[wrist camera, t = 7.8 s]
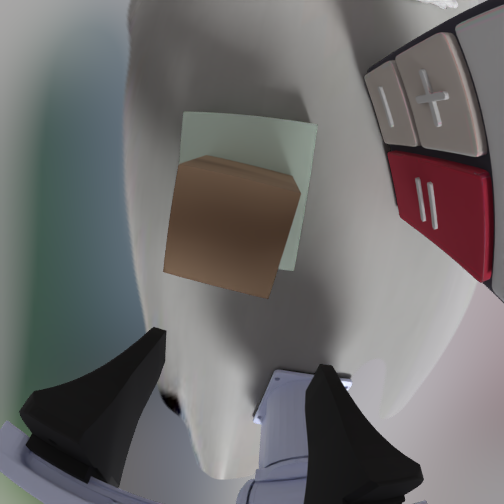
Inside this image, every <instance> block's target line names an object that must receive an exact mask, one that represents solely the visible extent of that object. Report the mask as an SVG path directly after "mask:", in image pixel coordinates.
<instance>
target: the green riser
mask: <svg viewBox="0 0 504 504" xmlns="http://www.w3.org/2000/svg"><path fill="white" fill-rule="evenodd" d="M317 126H318V125H317V124H311V123H305V122H299V121H293V120H286V119H278V118H270V117H262V116H252V115H242V114H229V113H213V112H183V121H182V132H181V143H180V156H179V164H181V163H184V162H187V161H190V160H193V159H196V158H199V157H202V156H205V155H209V156H214V157H218V158H223V159H227V160H232V161H236V162H240V163H244V164H249V165H253V166H257V167H261V168H265V169H269V170H272V171H276V172H280V173H284V174H287V175H291V176H293V178H294V180H295V182H296V184H297V186H298V188H299V190H300V192H301V196H300V200H299V203H298V206H297V210H296V213H295V216H294V219H293V223H292V226H291V229H290V232H289V236H288V239H287V242H286V245H285V249H284V252H283V255H282V258H281V261H280V264H279V268H278V269H281V270H289V271H294V267H295V262H296V257H297V251H298V246H299V241H300V235H301V230H302V224H303V218H304V212H305V206H306V200H307V194H308V188H309V182H310V175H311V169H312V162H313V155H314V148H315V141H316V134H317Z"/></svg>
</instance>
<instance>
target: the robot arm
mask: <svg viewBox="0 0 504 504" xmlns="http://www.w3.org/2000/svg"><path fill="white" fill-rule="evenodd" d="M165 350H166V331H165V330H162V329H159V328H155V327H153V328H151V329H150V330H149V331H148V332H147V333H146V334H145V335H144V336H142V337H141V338H140V339H139V340H138V341H137V342H135V343H134V344H133V345H132V346H130V347H129V348H128V349H127V350H125V351H124V352H123V353H121V354H120V355H118V356H117V357H116V358H114V359H112V360H111V361H110V362H108V363H107V364H105V365H103V366H101V367H100V368H98V369H96V370H95V371H93V372H91V373H88V374H86V375H84V376H82V377H80V378H78V379H75V380H73V381H70V382H67V383H65V384H61V385H59V386H55V387H51V388H47V389H43V390H38V391H34V392H33V393H32V394H31V395H30V397H29V398H28V399H27V401H26V402H25V404H24V405H23V407H22V408H21V410H20V411H19V412H20V416H21V418H22V420H23V421H24V422H25V424H26V425H27V427H28V428H29V429H30V431H31V432H32V435H31V437H30V438H29V437H28V436H27V435H26V434H25V433H24V432H22V431H21V430H20V429H18V428H17V427H15V426H14V425H13V424H11V423H10V422H9V421H6V422H5V423H4V425H3V426H2V428H1V429H0V471H1V472H2V473H3V474H4V475H5V476H7V477H8V478H9V479H11V480H12V481H13V482H14V483H16V484H17V485H18V486H20V487H21V488H22V489H24V490H25V491H27V492H28V493H29V494H31V495H32V496H34V497H35V498H37V499H38V500H40V501H41V502H43V503H44V504H163V503H160V502H156V501H153V500H150V499H146V498H144V497H141V496H138V495H135V494H132V493H129V492H127V491H124V490H122V489H119V488H118V487H119V485H120V481H121V477H122V473H123V469H124V465H125V461H126V457H127V454H128V451H129V447H130V444H131V441H132V438H133V435H134V432H135V429H136V426H137V423H138V420H139V418H140V416H141V413H142V411H143V409H144V407H145V405H146V403H147V401H148V399H149V397H150V395H151V393H152V391H153V389H154V387H155V385H156V383H157V381H158V379H159V377H160V374H161V371H162V368H163V366H164V363H165ZM276 377H278V378H276ZM351 385H352V380H351V379H345V378H339V376H338V375H337V373H336V371H335V370H334V368H333V366H331V365H323V364H320V365H319V367H318V369H317V371H316V373H315V375H312V374H305V373H298V372H291V371H285V370H275V371H274V372H273V375H272V377H271V380H270V382H269V384H268V387H267V389H266V391H265V394H264V396H263V398H262V401H261V403H260V405H259V407H258V410H257V412H256V414H255V416H254V418H253V422H254V423H256V424H262V425H261V439H260V452H259V469H256V475H255V479H251V480H248V481H247V482H246V483H245V485H244V486H243V487H242V488H241V490H240V492H239V494H238V497H237V501H236V504H402V502H404V501H405V497H404V495H405V494H407V493H408V492H410V491H412V490H413V489H415V488H416V487H418V486H419V485H420V484H421V483H422V482H423V480H424V478H423V475H422V471H421V467H420V464H418V463H416V462H415V461H413V460H412V459H410V458H408V457H407V456H405V455H404V454H403V453H401V452H400V451H399V450H397V449H396V448H395V447H393V446H392V445H391V444H390V443H389V442H388V441H387V440H386V439H385V438H384V437H382V435H380V433H379V432H378V431H377V430H376V429H375V428H374V427H373V426H372V425H371V424H370V422H369V421H368V420H367V419H366V418H365V416H364V415H363V414H362V412H361V411H360V409H359V408H358V407H357V405H356V404H355V402H354V401H353V399H352V398H351V396H350V395H349V393H348V392H347V391H348V390H349V388H350V387H351ZM414 504H427V501H421V502H418V503H414Z"/></svg>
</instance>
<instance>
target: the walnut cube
mask: <svg viewBox="0 0 504 504" xmlns="http://www.w3.org/2000/svg"><path fill="white" fill-rule="evenodd" d="M300 196H301V192H300V190H299V188H298V186H297V184H296V182H295V180H294V178H293V176H291V175H287V174H284V173H280V172H276V171H272V170H269V169H265V168H261V167H257V166H253V165H249V164H244V163H240V162H236V161H232V160H227V159H223V158H218V157H214V156H209V155H205V156H202V157H199V158H196V159H193V160H190V161H187V162H184V163H181V164H179V166H178V171H177V176H176V182H175V188H174V194H173V200H172V207H171V213H170V220H169V227H168V235H167V243H166V251H165V260H164V269H163V272H165V273H169V274H172V275H176V276H179V277H183V278H187V279H190V280H194V281H198V282H202V283H206V284H209V285H213V286H217V287H221V288H225V289H229V290H233V291H237V292H241V293H245V294H249V295H253V296H257V297H261V298H266V299H268V298H269V295H270V292H271V289H272V286H273V283H274V280H275V277H276V274H277V271H278V268H279V264H280V261H281V258H282V255H283V252H284V249H285V245H286V242H287V239H288V236H289V232H290V229H291V226H292V223H293V219H294V216H295V213H296V210H297V206H298V203H299V200H300Z"/></svg>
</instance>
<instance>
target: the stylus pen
mask: <svg viewBox="0 0 504 504" xmlns="http://www.w3.org/2000/svg"><path fill="white" fill-rule="evenodd" d="M418 1H421V2H423V3H427V4H428V3H431V4H434V5H436V6H438V7H440V8H442V9H447V8H446V5H447V6H448V7H454V8H456V7H458V3H457V1H456V0H418Z"/></svg>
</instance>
